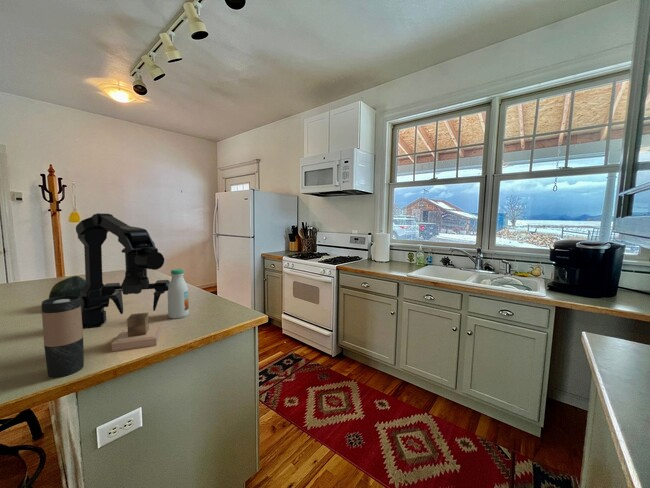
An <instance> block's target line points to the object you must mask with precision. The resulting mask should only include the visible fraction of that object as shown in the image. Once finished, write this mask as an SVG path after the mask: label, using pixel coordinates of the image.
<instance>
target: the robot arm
mask: <svg viewBox="0 0 650 488" xmlns="http://www.w3.org/2000/svg"><path fill="white" fill-rule="evenodd" d="M75 232H76V234H77V239H78V240H79V241H80V242H81V244H83V245H84V246H83V247H84V273H85V277H84V279H85V280H86V284H85V285H84V287H83V288H82V290H81V291H80V302H81V315H82V327H83V329H85V328H86V329H88V328H96V327H101V326H103V325H104V323H106V322H107V310H105V308H108V307H109V305H110V299H111V301H112V302H113V303H114V305H115V306H116V308H117V309H118V312H119V313H120V315H123V314H124V302H123V295H125V296H127V295H131V294H133V295H137V294H140V293H141V292H142V291H144V290H155V291H154V292H153V306H152V310H153V312H154V311H156V309H157V305H158V302H159V300H160V297H161V295H163V294H165V293H166V292H168V290H169V288H170V282H171V280H169V279H159V280H157V279H156V282H155V283H150V280H149V277H148V270H153V271H157V270H159V269H161V268H162V267H163V265H164V264H165V258H164V255H163V254H162V253H161V252H159V249H158V247H156V244H155V242H154V240H153V238H151V236H150V233H149V231H148V230H147V229H145V228H142V227H137V226H130V225H129V224H127V223H126V222H124V221H121V220H120V219H118V218H116V217H115V216H114V215H113V214H111V213H94V214H92V216H90V217H88V218H87V217H86V218H85V219H82V220H80V222H79V223H78V224H76V226H75ZM109 232H110V233H111V234H113V235H114V236H116V237H117V242H118V243H120V244H121V245H122V246H123V247H124V248H123V249H121V253H123V254H124V258H125V259H124V260H125V272H124V279H123V281H122V283H120V282H111V283H110V282H109V283H103V258H102V257H103V253H102V248H103V247H102V246H103V244H104V242H106V240H107V237H108V233H109Z"/></svg>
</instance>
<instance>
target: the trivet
mask: <svg viewBox="0 0 650 488" xmlns="http://www.w3.org/2000/svg"><path fill="white" fill-rule="evenodd" d="M162 333H163V324H154V325H149V330H148V332H147V334H146V335H140V336H132V337H128V328H122V329H121V330H120V332H119V334H118V335H117V336H116V338H114V340H113V342H111V352H118V351H124V350H133V349H139V348H146V347H147V348H149V347H153V346H158V342H159V341H160V337H161V335H162Z"/></svg>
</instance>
